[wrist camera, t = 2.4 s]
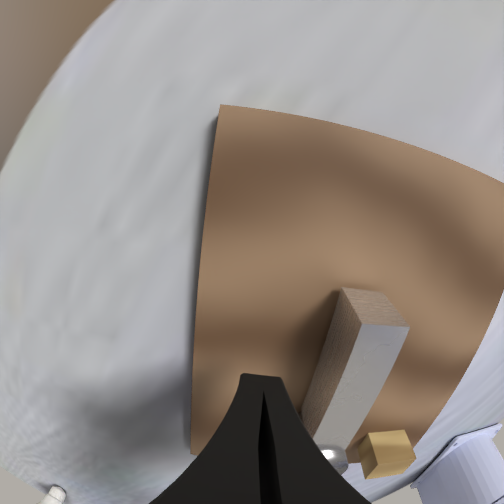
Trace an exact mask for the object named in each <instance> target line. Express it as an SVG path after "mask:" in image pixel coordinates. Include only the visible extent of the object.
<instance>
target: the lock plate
mask: <svg viewBox="0 0 504 504" xmlns="http://www.w3.org/2000/svg"><path fill="white" fill-rule="evenodd" d="M341 287H345V288H353V289H361V290H369V291H377V292H383V294H384V295H385V296H386V297H387V298H388V300H389V301H390V302H391V303H392V305H393V306H394V307H395V308H396V310H397V311H398V312H399V313H400V315H401V316H402V317H403V318H404V320H405V321H406V322H407V324H408V325H409V326H410V329H409V331H408V334H407V336H406V338H405V341H404V343H403V345H402V348H401V350H400V352H399V354H398V356H397V359H396V361H395V363H394V365H393V367H392V369H391V371H390V373H389V375H388V377H387V379H386V381H385V383H384V385H383V387H382V389H381V391H380V393H379V394H378V396H377V398H376V400H375V402H374V404H373V405H372V407H371V409H370V411H369V412H368V414H367V416H366V417H365V419H364V421H363V423H362V424H361V426H360V428H359V429H358V431H357V432H356V434H355V436H354V437H353V439H352V440H351V442H350V443H349V445H348V446H347V448H346V449H345V452H346V456H347V461H348V464H349V463H361V465H362V469H363V473H364V477H365V479H372V478H379V477H385V476H391V475H397V474H402V473H403V472H404V471H405V470H406V469H407V468H408V467H409V466H410V465H411V464H412V463H413V462H414V460H415V459H416V456H415V453H414V451H413V448H414V446H415V445H416V444H417V443H418V441H419V440H420V439H421V438H422V436H423V435H424V434H425V432H426V431H427V430H428V428H429V427H430V426H431V424H432V423H433V422H434V420H435V419H436V417H437V416H438V415H439V413H440V412H441V410H442V409H443V407H444V406H445V404H446V403H447V401H448V400H449V398H450V397H451V395H452V394H453V392H454V390H455V389H456V387H457V386H458V384H459V382H460V381H461V379H462V377H463V375H464V374H465V372H466V370H467V368H468V367H469V365H470V363H471V361H472V359H473V357H474V355H475V354H476V352H477V350H478V348H479V346H480V344H481V342H482V340H483V338H484V335H485V333H486V331H487V329H488V327H489V325H490V322H491V320H492V318H493V315H494V313H495V311H496V308H497V306H498V303H499V301H500V298H501V296H502V293H503V290H504V183H502V182H500V181H498V180H496V179H494V178H492V177H490V176H488V175H486V174H483V173H481V172H479V171H477V170H475V169H472V168H470V167H468V166H465V165H463V164H461V163H458V162H456V161H453V160H451V159H448V158H446V157H443V156H441V155H438V154H435V153H433V152H430V151H427V150H424V149H422V148H419V147H416V146H413V145H410V144H407V143H404V142H401V141H398V140H395V139H391V138H388V137H385V136H381V135H378V134H374V133H371V132H367V131H364V130H360V129H356V128H352V127H348V126H344V125H340V124H336V123H332V122H327V121H323V120H318V119H313V118H308V117H303V116H298V115H292V114H287V113H281V112H275V111H268V110H262V109H255V108H247V107H239V106H230V105H220V109H219V116H218V122H217V129H216V135H215V142H214V149H213V156H212V163H211V171H210V178H209V186H208V194H207V202H206V211H205V220H204V229H203V238H202V248H201V258H200V269H199V280H198V293H197V305H196V319H195V335H194V352H193V372H192V398H191V454H193V455H199V454H200V453H201V451H202V450H203V449H204V447H205V446H206V445H207V443H208V442H209V440H210V439H211V438H212V436H213V435H214V433H215V431H216V430H217V428H218V427H219V425H220V423H221V422H222V420H223V418H224V417H225V415H226V413H227V411H228V409H229V407H230V405H231V403H232V401H233V398H234V396H235V394H236V391H237V388H238V385H239V380H240V375H241V374H243V373H249V374H257V375H266V376H276V377H281V379H282V380H283V383H284V385H285V388H286V390H287V392H288V395H289V397H290V399H291V401H292V403H293V405H294V407H295V409H296V411H297V413H298V412H301V411H302V409H301V407H302V405H303V402H304V400H305V397H306V394H307V392H308V389H309V386H310V384H311V381H312V378H313V375H314V372H315V370H316V367H317V364H318V361H319V358H320V355H321V352H322V349H323V346H324V343H325V340H326V337H327V334H328V331H329V328H330V324H331V321H332V318H333V314H334V311H335V308H336V304H337V301H338V297H339V294H340V290H341Z"/></svg>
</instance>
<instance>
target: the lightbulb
mask: <svg viewBox="0 0 504 504" xmlns="http://www.w3.org/2000/svg"><path fill="white" fill-rule="evenodd" d="M65 497H66V494H65V492H64V491H63V489H62V488H61V487H54V486H53V487H52V488H51V489H50V491H49V493H48V494H46V495H45V497H44V498H43V499H42V501H40V502H39V503H38V504H63V502H64V500H65Z"/></svg>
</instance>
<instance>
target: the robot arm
mask: <svg viewBox="0 0 504 504" xmlns="http://www.w3.org/2000/svg"><path fill="white" fill-rule="evenodd" d="M501 427H502V424H501V423H500V424H497V425H494V426H491V427H488V428H484V429H481V430H478V431H475V432H471V433H468V434H464V435H460V436H457V437H456V438H454V439H453V440H452V442H451V443H450V444H449V445H448V446H447V448H446V449H445V450H444V451H443V452H442V453H441V454H440V455H439V457H438V458H437V459H436V460H435V461H434V462H433V463H432V464H431V465H430V466H429V467H428V468H427V469H426V470H425V471H424V472H423V473H422V474H421V475H420V476H419V477H418V478H417V479H416V480H415V481H414V482H413V483H412V484H411V486H410V487H411V488H416V487H417V489H418V491H419V494H420V497H421V500H422V503H423V504H504V460H503V458H502V456H501V454H500V453H499V451H498V449H497V448H496V446H495V444H494V443H493V441H492V438H493V437H494V436H495V435H496V434H497V432H498V431H499V430H500V429H501ZM149 504H371V503H370V502H369V501H368V500H366V499H365V498H364V497H363V496H362V495H361V494H360V493H359V492H358V491H356V490H355V489H354V488H353V487H352V486H351V485H350V484H349V483H348V482H347V481H346V480H345V479H344V478H343V477H342V476H341V475H340V474H339V473H338V471H337V470H336V469H335V468H334V467H333V466H332V465H331V463H330V462H329V461H328V460H327V458H326V457H325V456H324V454H323V453H322V452H321V450H320V449H319V448H318V446H317V445H316V443H315V442H314V440H313V439H312V437H311V436H310V434H309V432H308V431H307V429H306V427H305V426H304V424H303V422H302V420H301V419H300V417H299V415H298V413H297V411H296V409H295V407H294V405H293V403H292V401H291V399H290V397H289V395H288V392H287V390H286V388H285V385H284V383H283V380H282V379H281V377H276V376H266V375H257V374H249V373H243V374H241V375H240V380H239V385H238V388H237V391H236V394H235V396H234V398H233V401H232V403H231V405H230V407H229V409H228V411H227V413H226V415H225V417H224V418H223V420H222V422H221V423H220V425H219V427H218V428H217V430H216V431H215V433H214V435H213V436H212V438H211V439H210V440H209V442H208V443H207V445H206V446H205V447H204V449H203V450H202V451H201V453H200V454H199V455H198V456H197V458H196V459H195V460H194V461H193V462H192V463H191V464H190V466H189V467H188V468H187V469H186V470H185V471H184V472H183V473H182V474H181V475H180V476H179V477H178V478H177V479H176V480H175V481H174V482H173V483H172V484H171V485H170V486H169V487H168V488H167V489H166V490H164V491H163V492H162V493H161V494H160V495H159V496H158V497H157V498H155V499H154V500H153V501H152V502H150V503H149Z"/></svg>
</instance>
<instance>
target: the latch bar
mask: <svg viewBox="0 0 504 504" xmlns="http://www.w3.org/2000/svg"><path fill="white" fill-rule="evenodd" d="M409 329H410V326H409V325H408V324H407V322H406V321H405V320H404V318H403V317H402V316H401V315H400V313H399V312H398V311H397V310H396V308H395V307H394V306H393V305H392V303H391V302H390V301H389V300H388V298H387V297H386V296H385V295H384V294H383V292H377V291H369V290H361V289H353V288H345V287H341V290H340V294H339V297H338V301H337V304H336V308H335V311H334V314H333V318H332V321H331V324H330V328H329V331H328V334H327V337H326V340H325V343H324V346H323V349H322V352H321V355H320V358H319V361H318V364H317V367H316V370H315V372H314V375H313V378H312V381H311V384H310V386H309V389H308V392H307V394H306V397H305V400H304V402H303V405H302V407H301V409H302V411H301V412H298V415H299V417H300V419H301V420H302V422H303V424H304V426H305V427H306V429H307V431H308V432H309V434H310V436H311V437H312V439H313V440H314V442H315V443H316V445H317V446H318V448H319V449H320V450H321V452H322V453H323V454H324V456H325V457H326V458H327V460H328V461H329V462H330V463H331V465H332V466H333V467H334V468H335V469H336V470H337V471H338V473H339V474H340V475H342V474H343V473H344V472H345V471H346V470H347V468H348V461H347V456H346V452H345V449H346V448H347V446H348V445H349V443H350V442H351V440H352V439H353V437H354V436H355V434H356V432H357V431H358V429H359V428H360V426H361V424H362V423H363V421H364V419H365V417H366V416H367V414H368V412H369V411H370V409H371V407H372V405H373V404H374V402H375V400H376V398H377V396H378V394H379V393H380V391H381V389H382V387H383V385H384V383H385V381H386V379H387V377H388V375H389V373H390V371H391V369H392V367H393V365H394V363H395V361H396V359H397V356H398V354H399V352H400V350H401V348H402V345H403V343H404V341H405V338H406V336H407V334H408V331H409Z"/></svg>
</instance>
